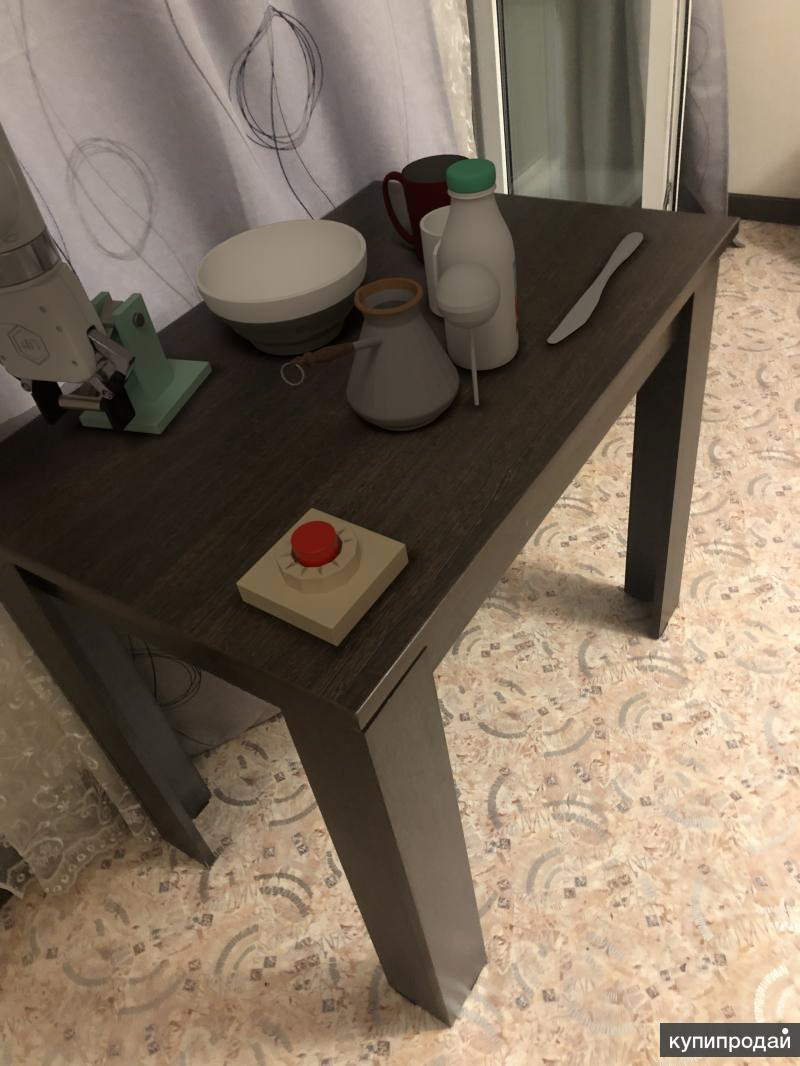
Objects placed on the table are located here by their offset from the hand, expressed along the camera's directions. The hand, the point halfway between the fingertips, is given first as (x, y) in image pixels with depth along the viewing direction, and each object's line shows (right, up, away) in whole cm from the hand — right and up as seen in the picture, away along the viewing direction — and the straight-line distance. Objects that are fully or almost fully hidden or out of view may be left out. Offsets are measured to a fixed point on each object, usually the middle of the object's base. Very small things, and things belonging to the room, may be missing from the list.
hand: (91, 419), depth 83 cm
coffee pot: (+30, -2, -2) cm, 30 cm away
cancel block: (+25, -16, -15) cm, 34 cm away
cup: (+38, +15, +13) cm, 43 cm away
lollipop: (+39, +1, 0) cm, 39 cm away
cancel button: (+25, -13, -18) cm, 33 cm away
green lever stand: (+3, +4, +8) cm, 10 cm away
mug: (+36, +25, +25) cm, 50 cm away
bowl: (+19, +12, +15) cm, 27 cm away
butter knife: (+55, +17, +13) cm, 59 cm away
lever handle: (+1, +6, +1) cm, 6 cm away
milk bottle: (+41, +8, +6) cm, 42 cm away
